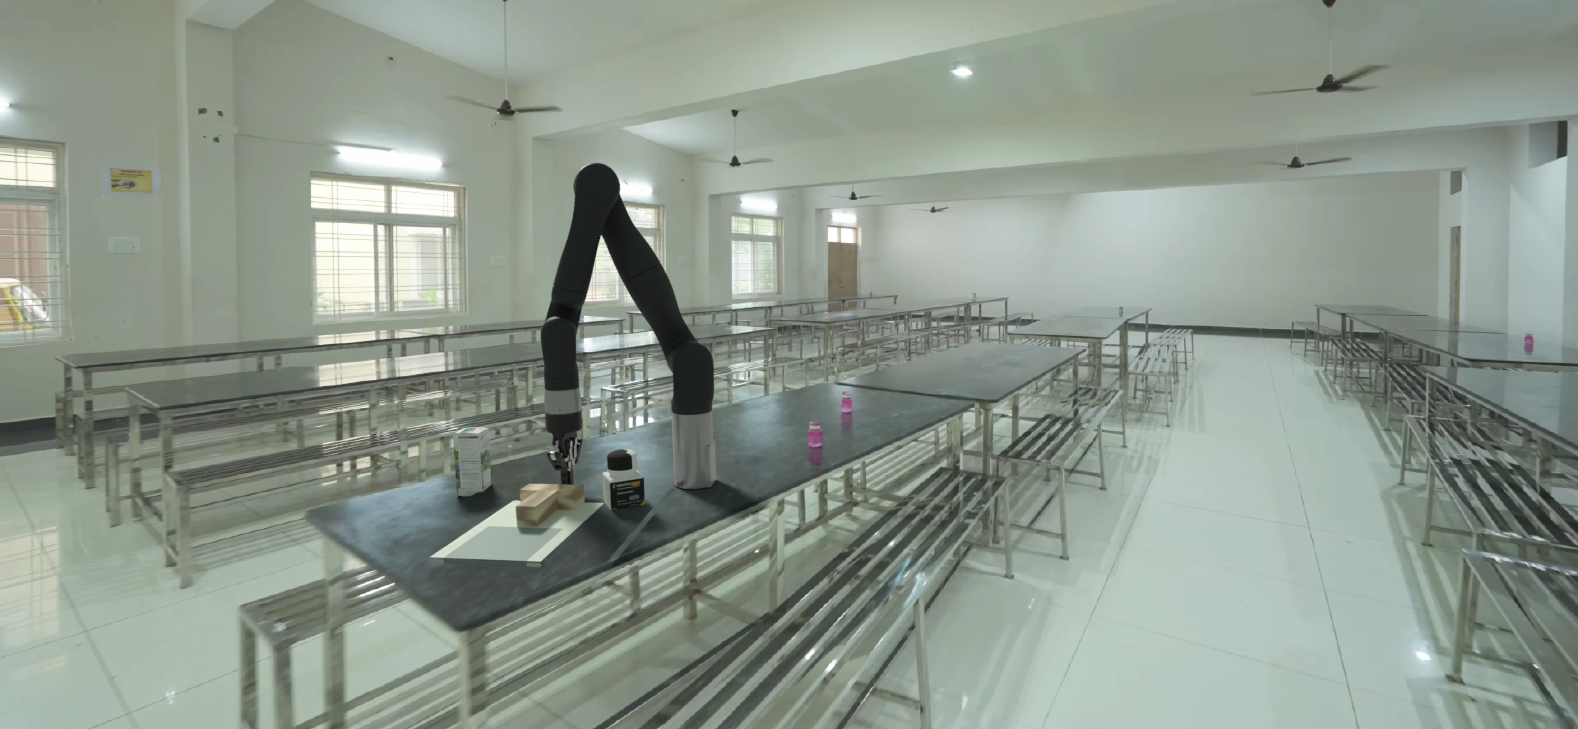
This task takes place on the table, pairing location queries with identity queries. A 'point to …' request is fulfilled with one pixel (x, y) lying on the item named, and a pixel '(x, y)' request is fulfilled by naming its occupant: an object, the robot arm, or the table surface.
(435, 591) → the table surface
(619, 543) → the table surface
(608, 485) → the medicine bottle
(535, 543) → the sage board
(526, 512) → the wooden T-block
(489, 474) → the syrup box
